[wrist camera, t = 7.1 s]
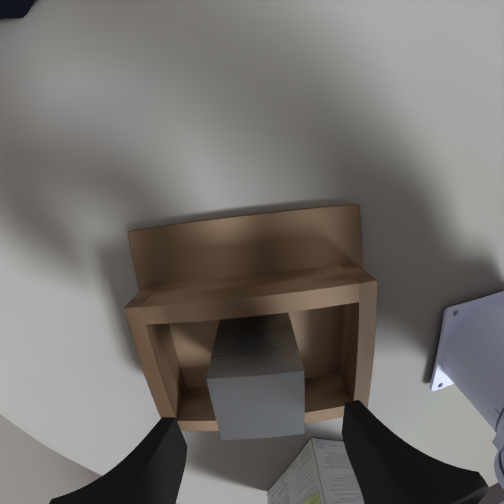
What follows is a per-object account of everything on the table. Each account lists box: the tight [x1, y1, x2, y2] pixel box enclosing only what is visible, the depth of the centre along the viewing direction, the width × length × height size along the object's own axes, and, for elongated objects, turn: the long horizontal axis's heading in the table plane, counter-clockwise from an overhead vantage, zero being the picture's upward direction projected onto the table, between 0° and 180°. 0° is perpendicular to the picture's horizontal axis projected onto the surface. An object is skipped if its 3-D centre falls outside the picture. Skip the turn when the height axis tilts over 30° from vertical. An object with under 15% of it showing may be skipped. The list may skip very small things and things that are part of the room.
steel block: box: [206, 312, 305, 440], centre depth 15 cm, size 4×4×7 cm
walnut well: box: [124, 204, 377, 431], centre depth 17 cm, size 14×16×4 cm
